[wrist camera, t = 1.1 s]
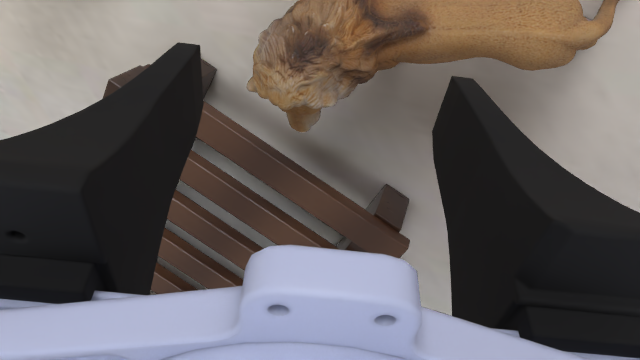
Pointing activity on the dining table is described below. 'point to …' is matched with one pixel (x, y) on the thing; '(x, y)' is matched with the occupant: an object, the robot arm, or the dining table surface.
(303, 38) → the lion figurine
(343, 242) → the rack
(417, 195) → the dining table surface
